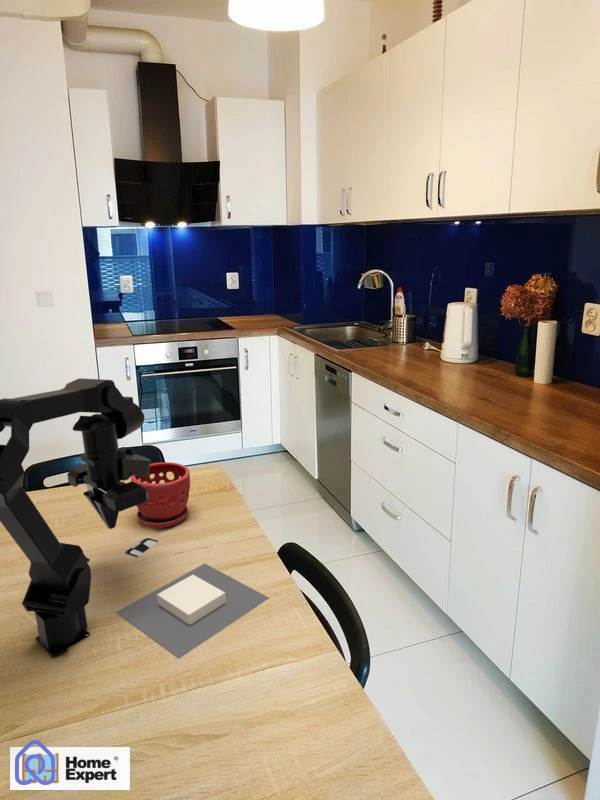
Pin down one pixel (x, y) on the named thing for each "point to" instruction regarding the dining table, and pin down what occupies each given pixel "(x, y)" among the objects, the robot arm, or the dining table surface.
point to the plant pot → (164, 495)
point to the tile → (191, 599)
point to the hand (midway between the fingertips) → (111, 527)
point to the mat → (187, 637)
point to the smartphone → (140, 547)
